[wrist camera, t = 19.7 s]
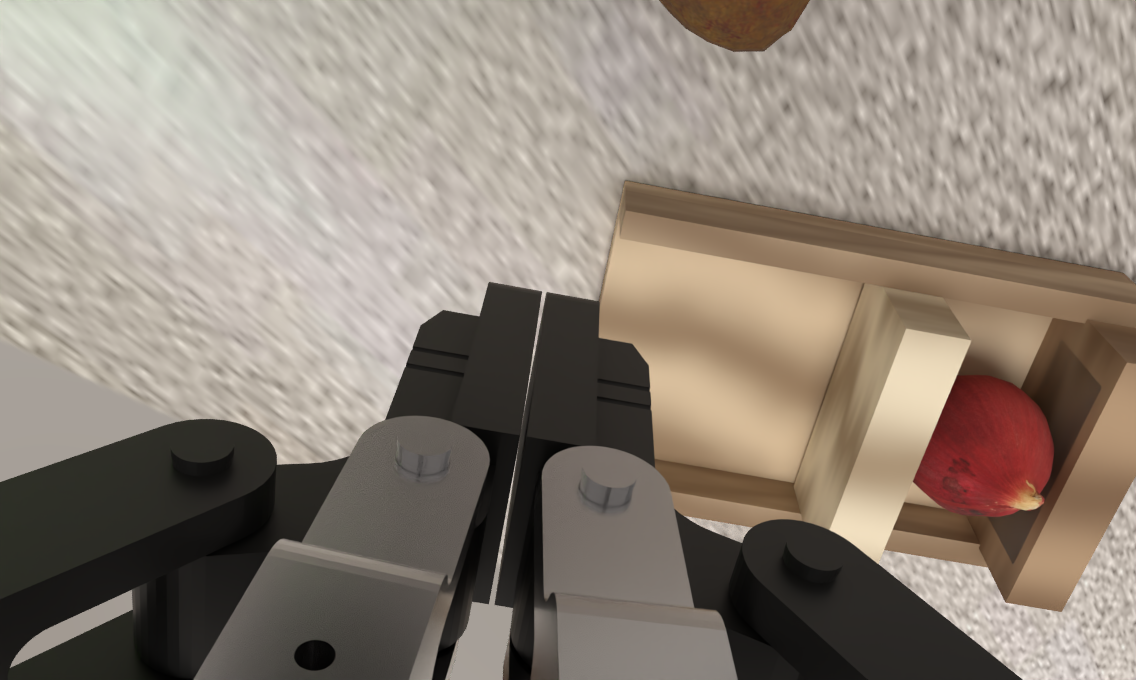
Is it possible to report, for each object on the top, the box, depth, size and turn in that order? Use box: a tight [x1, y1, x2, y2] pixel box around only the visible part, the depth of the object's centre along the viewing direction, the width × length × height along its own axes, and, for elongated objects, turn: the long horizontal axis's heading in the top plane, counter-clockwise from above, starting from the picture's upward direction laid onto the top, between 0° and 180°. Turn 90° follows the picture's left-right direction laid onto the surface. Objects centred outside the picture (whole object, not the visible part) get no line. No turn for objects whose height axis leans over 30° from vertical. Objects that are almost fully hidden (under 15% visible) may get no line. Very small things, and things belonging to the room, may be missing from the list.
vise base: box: [599, 181, 1136, 612], centre depth 43 cm, size 14×22×7 cm, turn 80°
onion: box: [913, 375, 1054, 517], centre depth 42 cm, size 6×6×8 cm
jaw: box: [794, 284, 972, 564], centre depth 42 cm, size 12×2×6 cm, turn 170°
